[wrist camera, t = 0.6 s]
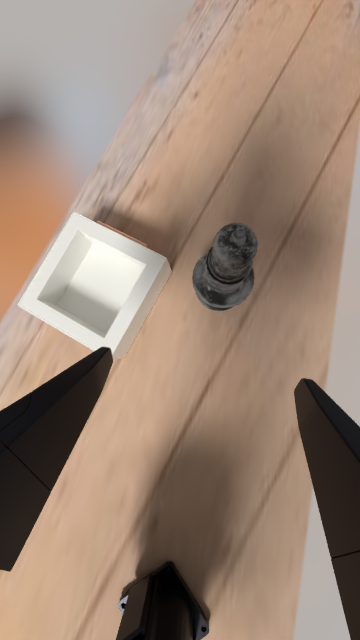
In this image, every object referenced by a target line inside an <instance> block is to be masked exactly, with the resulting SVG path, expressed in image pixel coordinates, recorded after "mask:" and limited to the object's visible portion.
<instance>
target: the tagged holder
mask: <svg viewBox="0 0 360 640" xmlns="http://www.w3.org/2000/svg"><path fill="white" fill-rule="evenodd" d="M171 273H172V271H171V268H170V265H169V262H168V259H167V258H166V257H164V256H162V255H160V254H158V253H156V252H154V251H152V250H150V249H149V248H148V246H147V244H145V243H143V242H141V241H139V240H137V239H135V238H133V237H131V236H129V235H127V234H125V233H123V232H120V231H118V230H116V229H114V228H112V227H110V226H108V225H106V224H104V223H102V222H100V221H97V222H94V221H92V220H90V219H88V218H86V217H84V216H82V215H80V214H78V213H75V212H73V214H72V216H71V217H70V219H69V221H68V222H67V224H66V225H65V227H64V229H63V230H62V232H61V234H60V235H59V237H58V239H57V240H56V242H55V244H54V245H53V247H52V249H51V250H50V252H49V254H48V255H47V257H46V259H45V260H44V262H43V263H42V265H41V267H40V268H39V270H38V272H37V273H36V275H35V277H34V278H33V280H32V282H31V283H30V285H29V287H28V288H27V290H26V292H25V293H24V295H23V297H22V298H21V300H20V302H19V303H18V305H17V306H19V307H21V308H22V309H24V310H26V311H27V312H29V313H31V314H33V315H34V316H36V317H38V318H39V319H41V320H43V321H44V322H46V323H48V324H49V325H51V326H53V327H54V328H56V329H58V330H59V331H61V332H63V333H65V334H66V335H68V336H70V337H71V338H73V339H75V340H76V341H78V342H80V343H81V344H83V345H85V346H86V347H88V348H90V349H91V350H93V351H96V350H97V349H99V348H100V347H109V348H111V351H112V356H113V359H119V358H124V357H125V355H126V354H127V352H128V350H129V348H130V346H131V345H132V343H133V341H134V339H135V337H136V336H137V334H138V332H139V330H140V328H141V327H142V325H143V323H144V321H145V319H146V318H147V316H148V314H149V312H150V311H151V309H152V307H153V305H154V303H155V302H156V300H157V298H158V296H159V294H160V293H161V291H162V289H163V287H164V285H165V284H166V282H167V280H168V278H169V276H170V275H171Z"/></svg>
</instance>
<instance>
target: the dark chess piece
mask: <svg viewBox="0 0 360 640" xmlns="http://www.w3.org/2000/svg"><path fill="white" fill-rule="evenodd" d="M257 244H258V243H257V237H256V235H255V233H254V232H253V231H252V229H251V228H249V227H248V226H246V225H244V224H240V223H233V224H229V225H226V226H224V227H223V228H222V229H221V230H220V231H219V232H218V233H217V235H216V237H215V239H214V244H213V247H212V248H211V249H210V250H209V252H208V253H207V254H205V255H204V256H203V257H201V259H200V260H199V261H198V262H197V264H196V266H195V268H194V270H193V277H192V279H193V286H194V289H195V291H196V294H197V296H198V299H199V300H200V301H201V303H202V304H203V305H205V306H206V307H207V308H209V309H212V310H217V311H222V310H227V309H229V308H232V307H233V306H235V305H238V304H239V303H241V302H242V301H243V300H245V299H246V298H247V296H248V295H249V294H250V292H251V290H252V288H253V285H254V272H253V269H252V259H253V258H254V256H255V254H256V251H257Z"/></svg>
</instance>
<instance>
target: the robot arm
mask: <svg viewBox="0 0 360 640" xmlns="http://www.w3.org/2000/svg"><path fill="white" fill-rule="evenodd" d="M112 363H113V356H112V351H111V348H109V347H100V348H99V349H97V350H96V351H94V352H92V353H91V354H89V355H88V356H86V357H85V358H83V359H82V360H80V361H78V362H77V363H75V364H74V365H72V366H71V367H69V368H68V369H66V370H64V371H63V372H61V373H60V374H58V375H57V376H55V377H54V378H52V379H51V380H49V381H47V382H46V383H44V384H43V385H41V386H40V387H38V388H37V389H35V390H33V391H32V392H30V393H29V394H27V395H26V396H24V397H22V398H21V399H19V400H18V401H16V402H14V403H13V404H11V405H10V406H8V407H6V408H4V409H3V410H1V411H0V570H4V571H9V572H10V571H11V570H12V568H13V566H14V564H15V562H16V560H17V558H18V556H19V554H20V552H21V550H22V549H23V547H24V545H25V543H26V541H27V539H28V537H29V535H30V533H31V531H32V529H33V527H34V525H35V523H36V521H37V519H38V517H39V515H40V513H41V511H42V509H43V507H44V505H45V503H46V501H47V499H48V497H49V495H50V493H51V491H52V489H53V487H54V485H55V483H56V481H57V479H58V477H59V475H60V473H61V471H62V469H63V467H64V465H65V463H66V461H67V459H68V458H69V456H70V454H71V452H72V450H73V448H74V446H75V444H76V442H77V440H78V438H79V436H80V434H81V432H82V430H83V428H84V426H85V424H86V422H87V420H88V418H89V416H90V414H91V412H92V410H93V408H94V406H95V404H96V402H97V400H98V398H99V396H100V394H101V392H102V390H103V387H104V385H105V382H106V379H107V377H108V374H109V371H110V369H111V366H112ZM294 396H295V404H296V412H297V419H298V426H299V431H300V435H301V439H302V443H303V447H304V451H305V455H306V459H307V463H308V467H309V471H310V475H311V479H312V484H313V488H314V492H315V496H316V499H317V504H318V508H319V512H320V516H321V520H322V524H323V528H324V532H325V536H326V540H327V544H328V548H329V552H330V556H331V558H332V559H331V561H332V565H333V569H334V573H335V577H336V581H337V585H338V589H339V593H340V597H341V601H342V605H343V610H344V614H345V618H346V622H347V625H348V629H349V633H350V638H351V640H360V427H359V426H358V425H357V424H356V423H355V422H354V421H353V420H352V419H351V418H350V417H349V416H348V415H347V414H346V413H345V412H344V411H343V410H342V409H341V408H340V407H339V406H338V405H337V404H336V403H335V402H334V401H333V400H332V399H331V398H330V397H329V396H328V395H327V394H326V393H325V392H324V391H323V390H322V389H321V388H320V387H319V386H318V385H317V384H316V383H315V382H314V381H313V380H311V379H305V378H302V379H301V380H300V382H299V383H298V385H297V386H296V388H295V390H294ZM168 569H171V570H168ZM124 603H125V604H124ZM118 607H119V609H120V611H121V613H122V615H123V616H122V620H121V623H120V627H119V630H118V634H117V638H116V640H201V639H202V638H203V637H205V636H206V635H207V634H208V633H209V622H208V620H207V618H206V616H205V615H204V613H203V611H202V610H201V608H200V606H199V605H198V603H197V602H196V600H195V598H194V597H193V595H192V593H191V592H190V590H189V588H188V587H187V585H186V583H185V582H184V580H183V578H182V577H181V575H180V574H179V572H178V570H177V569H176V567H175V565H174V564H173V563H172V562H167V563H165V564H164V565H163V566H161V567H160V568H159V569H157V570H156V571H155V572H153V573H152V574H149V575H148V576H146V577H145V578H144V579H142V580H141V581H140V582H138V583H137V584H136V585H134V586H133V587H132V588H130V590H129V591H128V592H126V593H125V594H124V595H122V596H121V598H120V601H119V604H118ZM203 626H205V627H203Z"/></svg>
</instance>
